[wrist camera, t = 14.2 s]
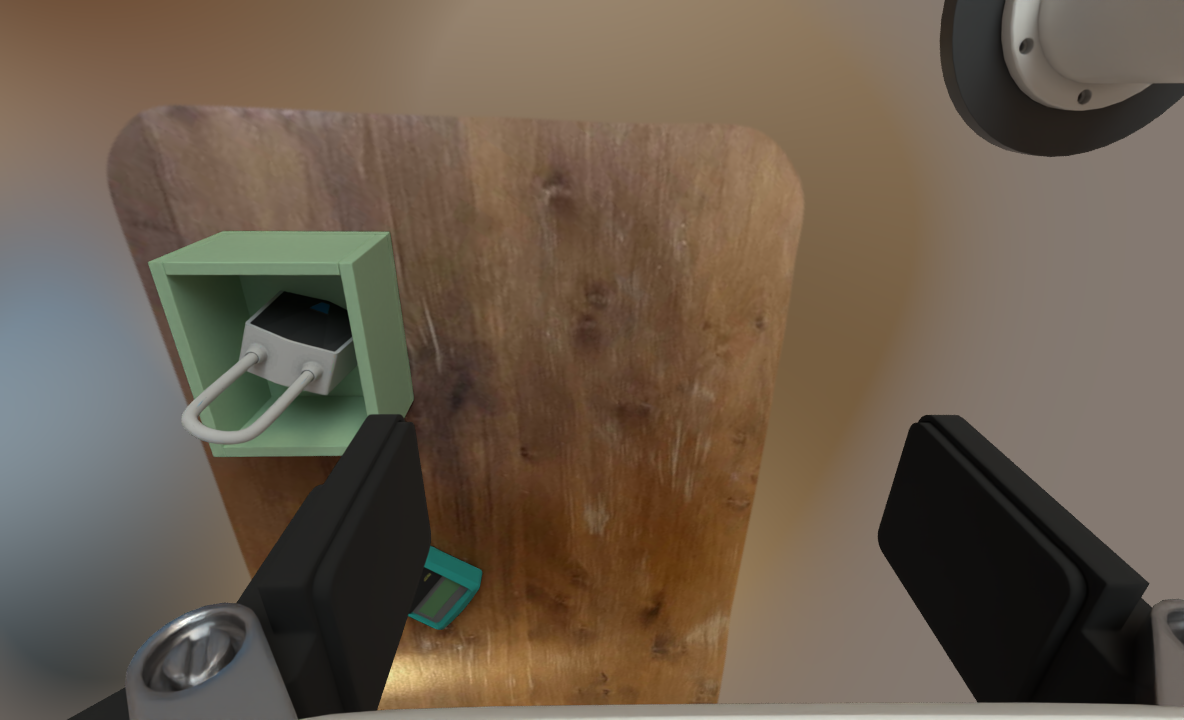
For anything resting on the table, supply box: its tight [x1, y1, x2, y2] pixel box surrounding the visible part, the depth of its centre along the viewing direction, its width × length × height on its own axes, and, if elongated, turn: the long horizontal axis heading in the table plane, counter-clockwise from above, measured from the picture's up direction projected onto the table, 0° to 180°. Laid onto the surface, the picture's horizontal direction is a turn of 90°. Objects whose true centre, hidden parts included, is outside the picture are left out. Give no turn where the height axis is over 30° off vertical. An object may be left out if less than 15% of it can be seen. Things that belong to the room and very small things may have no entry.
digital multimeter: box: [408, 546, 482, 630], centre depth 52 cm, size 7×15×3 cm, turn 53°
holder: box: [148, 231, 414, 457], centre depth 39 cm, size 12×14×8 cm
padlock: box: [182, 290, 358, 445], centre depth 35 cm, size 7×4×15 cm, turn 67°
